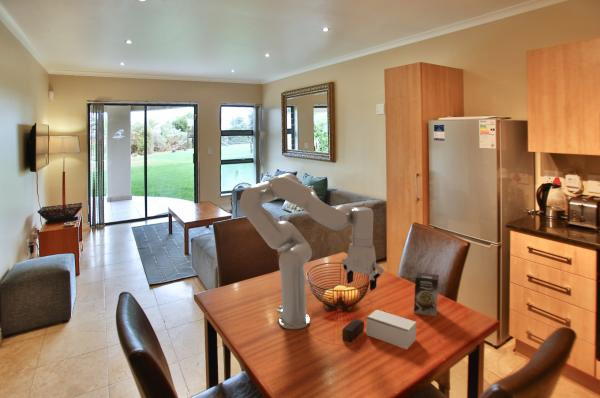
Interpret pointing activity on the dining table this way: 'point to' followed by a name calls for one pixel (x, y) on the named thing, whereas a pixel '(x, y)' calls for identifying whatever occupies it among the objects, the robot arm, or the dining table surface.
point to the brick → (353, 330)
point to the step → (391, 329)
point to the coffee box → (426, 294)
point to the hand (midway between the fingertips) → (361, 285)
